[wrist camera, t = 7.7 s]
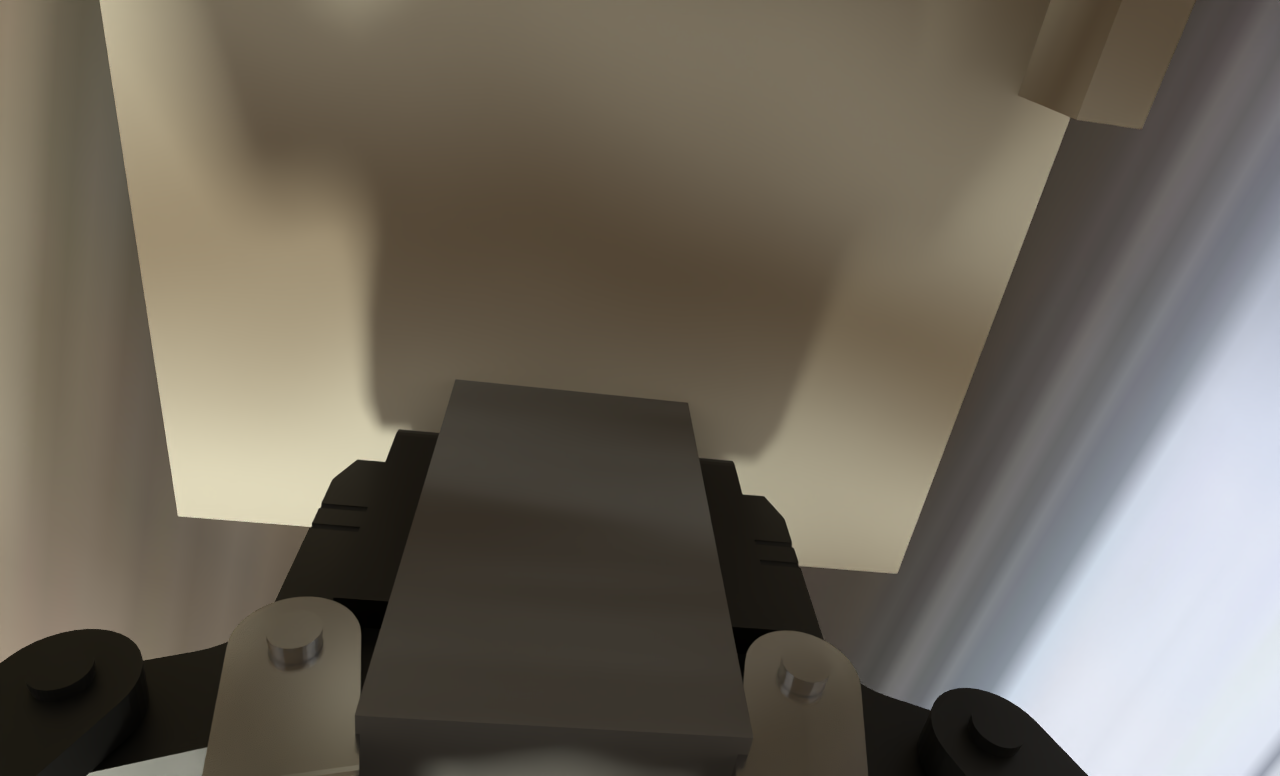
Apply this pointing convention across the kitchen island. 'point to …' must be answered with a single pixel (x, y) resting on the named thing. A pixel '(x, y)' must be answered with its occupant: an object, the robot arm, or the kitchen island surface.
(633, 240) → the tray
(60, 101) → the kitchen island surface
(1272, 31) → the kitchen island surface
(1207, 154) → the kitchen island surface
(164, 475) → the kitchen island surface
